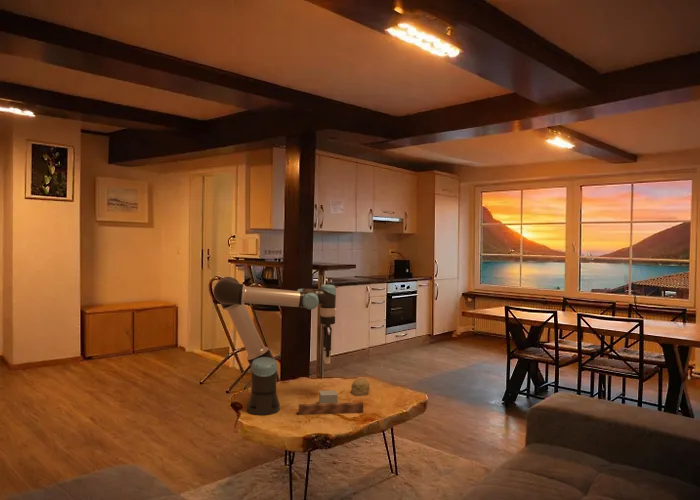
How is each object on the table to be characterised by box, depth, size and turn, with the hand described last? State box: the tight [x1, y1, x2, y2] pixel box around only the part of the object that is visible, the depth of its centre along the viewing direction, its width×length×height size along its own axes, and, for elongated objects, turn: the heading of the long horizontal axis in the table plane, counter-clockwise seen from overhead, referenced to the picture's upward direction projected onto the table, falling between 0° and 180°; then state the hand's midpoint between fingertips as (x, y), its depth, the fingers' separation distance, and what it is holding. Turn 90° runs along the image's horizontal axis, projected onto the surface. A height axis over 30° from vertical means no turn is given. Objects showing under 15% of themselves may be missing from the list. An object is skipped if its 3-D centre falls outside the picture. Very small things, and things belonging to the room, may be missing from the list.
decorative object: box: [350, 377, 370, 397], centre depth 278 cm, size 9×10×10 cm
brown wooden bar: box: [297, 401, 364, 416], centre depth 249 cm, size 30×3×4 cm, turn 100°
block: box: [318, 389, 339, 404], centre depth 259 cm, size 8×7×6 cm
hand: (326, 361), depth 267 cm, fingers open, 4 cm apart
